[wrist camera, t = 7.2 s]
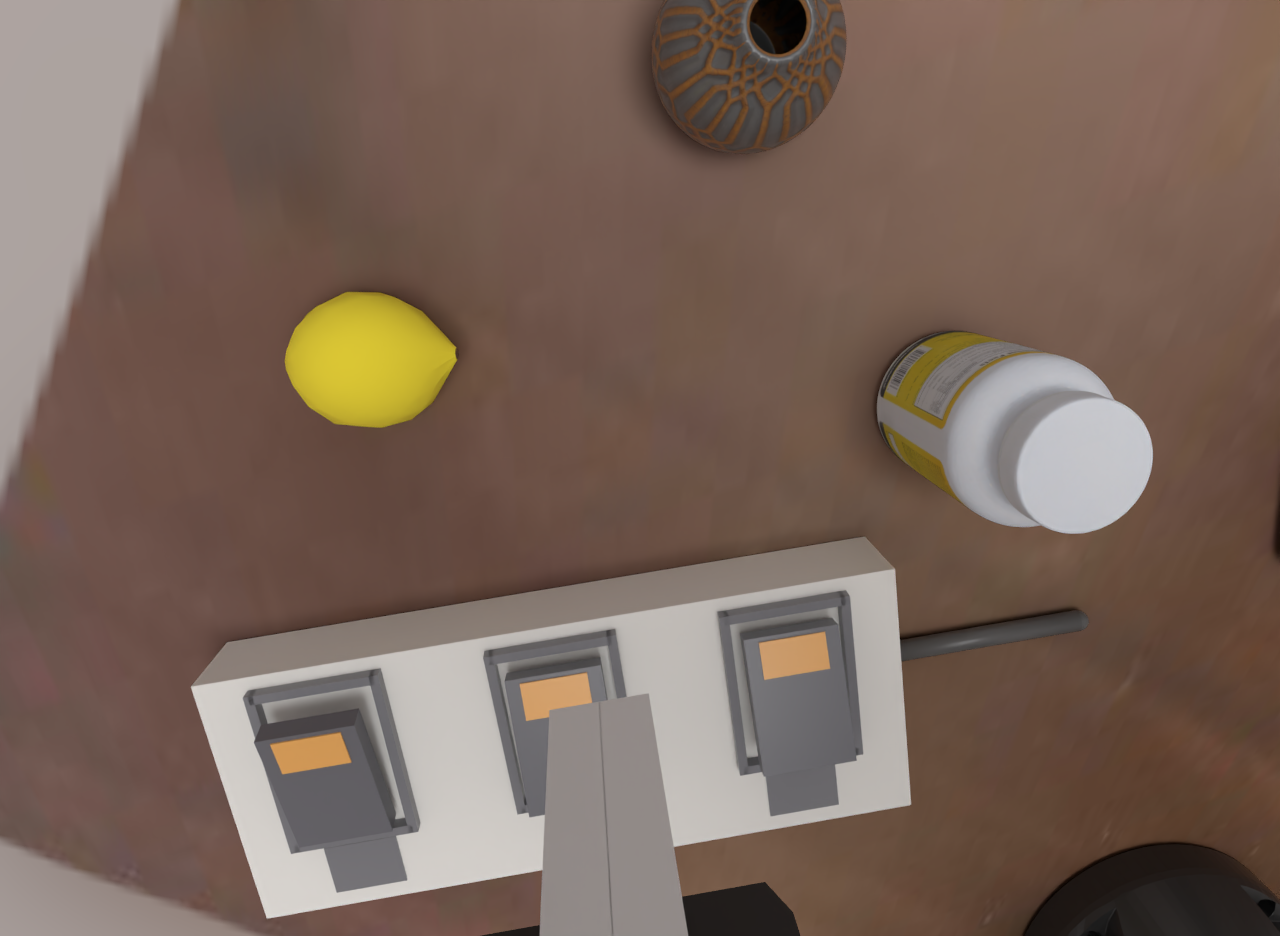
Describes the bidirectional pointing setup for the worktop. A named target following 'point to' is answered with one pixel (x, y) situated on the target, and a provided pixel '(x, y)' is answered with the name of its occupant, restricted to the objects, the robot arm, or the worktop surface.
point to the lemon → (368, 360)
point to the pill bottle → (1014, 432)
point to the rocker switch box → (632, 665)
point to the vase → (747, 68)
